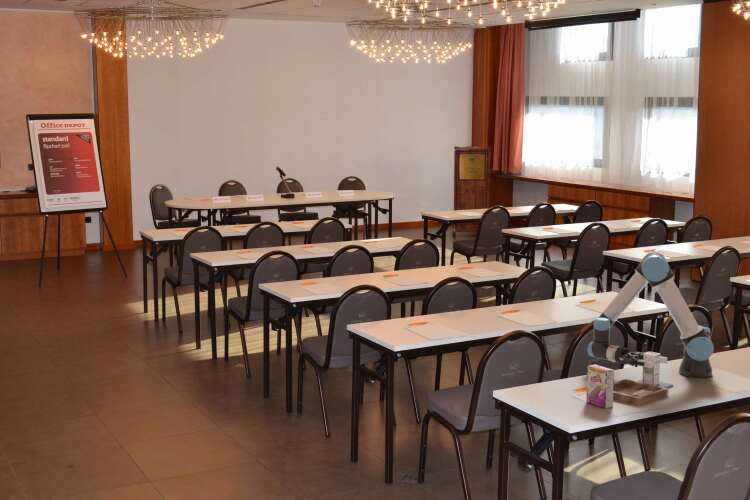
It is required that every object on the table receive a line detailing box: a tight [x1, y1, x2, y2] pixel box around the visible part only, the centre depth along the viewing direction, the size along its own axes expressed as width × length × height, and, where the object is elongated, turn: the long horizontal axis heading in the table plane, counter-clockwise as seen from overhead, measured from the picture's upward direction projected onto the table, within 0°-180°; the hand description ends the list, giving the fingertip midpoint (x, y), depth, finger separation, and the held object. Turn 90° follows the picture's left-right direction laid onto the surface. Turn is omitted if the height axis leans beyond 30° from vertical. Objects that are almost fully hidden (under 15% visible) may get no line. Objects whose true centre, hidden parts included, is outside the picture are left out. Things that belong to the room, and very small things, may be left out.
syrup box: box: [642, 351, 661, 386], centre depth 417 cm, size 6×6×14 cm
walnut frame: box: [613, 378, 669, 407], centre depth 402 cm, size 22×23×4 cm
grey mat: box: [637, 378, 674, 389], centre depth 418 cm, size 14×14×1 cm
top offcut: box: [631, 390, 653, 397], centre depth 398 cm, size 5×10×1 cm, turn 138°
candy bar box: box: [585, 364, 615, 410], centre depth 388 cm, size 11×5×16 cm, turn 33°
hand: (659, 363), depth 414 cm, fingers open, 12 cm apart
